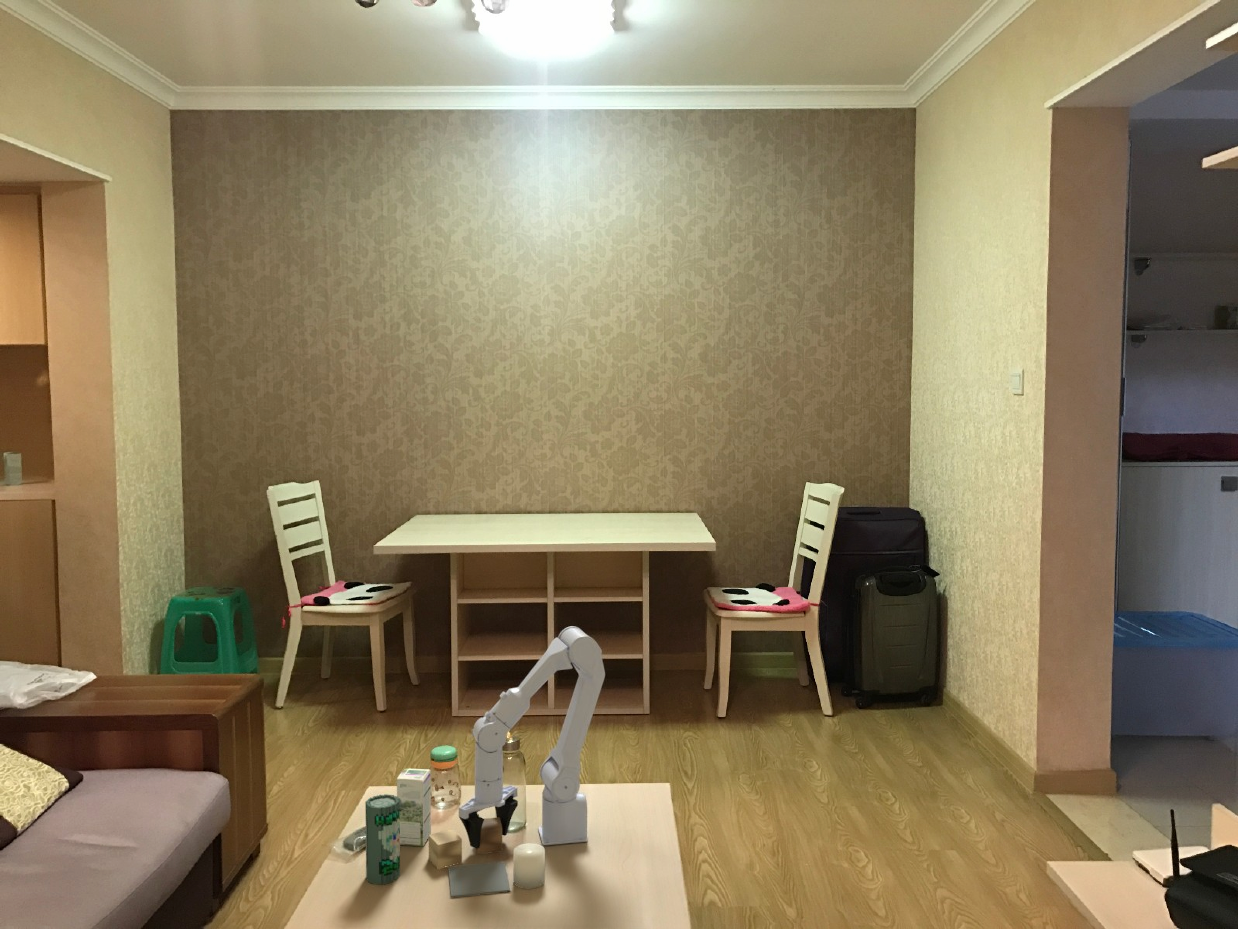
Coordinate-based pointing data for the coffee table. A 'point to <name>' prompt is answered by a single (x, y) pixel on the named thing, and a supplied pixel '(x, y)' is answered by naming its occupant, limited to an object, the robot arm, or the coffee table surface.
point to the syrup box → (414, 806)
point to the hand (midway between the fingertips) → (488, 840)
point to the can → (382, 839)
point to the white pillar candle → (529, 865)
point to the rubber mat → (478, 879)
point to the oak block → (445, 848)
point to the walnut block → (491, 836)
